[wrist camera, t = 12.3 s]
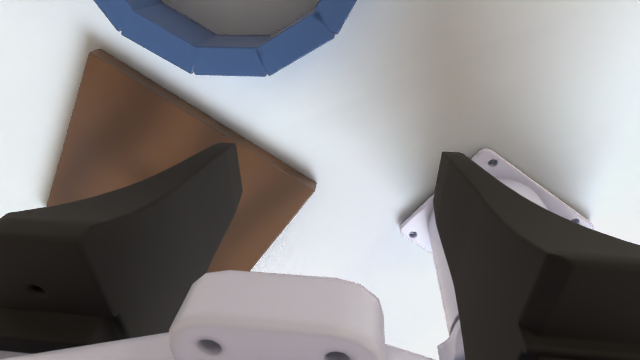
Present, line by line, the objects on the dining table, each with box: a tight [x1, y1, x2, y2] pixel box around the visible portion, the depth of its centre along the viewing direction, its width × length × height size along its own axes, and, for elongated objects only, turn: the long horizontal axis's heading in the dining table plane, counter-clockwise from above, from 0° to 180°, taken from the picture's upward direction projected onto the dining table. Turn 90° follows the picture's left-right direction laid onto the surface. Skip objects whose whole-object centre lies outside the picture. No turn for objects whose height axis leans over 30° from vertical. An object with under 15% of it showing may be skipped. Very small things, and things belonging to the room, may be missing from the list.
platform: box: [47, 49, 317, 273], centre depth 25 cm, size 15×15×4 cm
